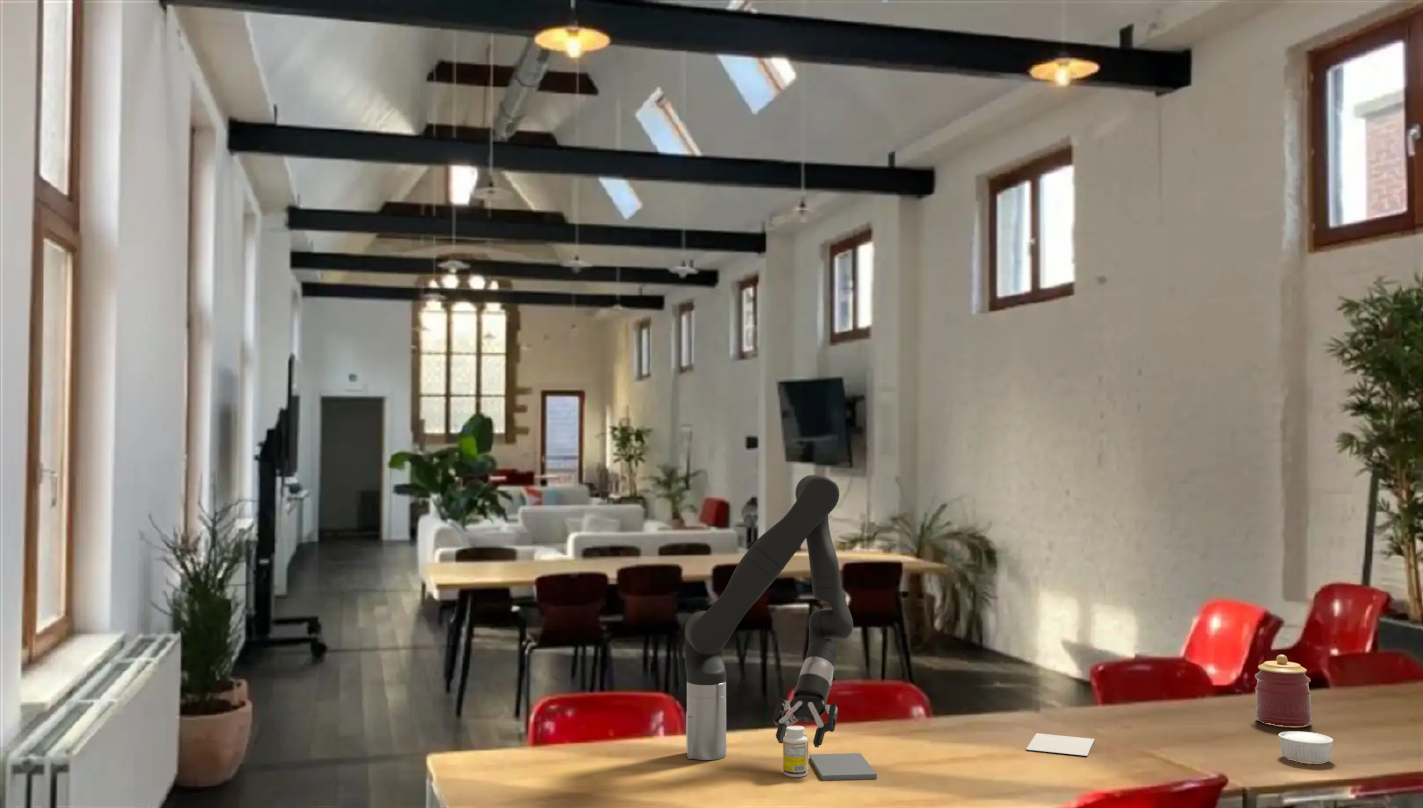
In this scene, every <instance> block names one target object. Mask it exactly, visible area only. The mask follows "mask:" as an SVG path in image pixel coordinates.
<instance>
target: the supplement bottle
mask: <svg viewBox="0 0 1423 808" xmlns="http://www.w3.org/2000/svg"><path fill="white" fill-rule="evenodd" d="M805 733H806V732H805V727H804V726H802V725H794V724H793V725H790V726H788V727H787V728H786V734H785V736H784V737H783V743H782V747H783V748H782V752H783V753H782V755H783V757H782V759H783V760H782V761H783V763H782V764H783V767H782V768H783V774H784V775H786V776H788V777H789V778H790V777H791V778H802V777H806V776H807V775H808V774H809V738H808V736H807V735H805Z"/></svg>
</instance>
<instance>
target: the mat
mask: <svg viewBox="0 0 1423 808" xmlns="http://www.w3.org/2000/svg"><path fill="white" fill-rule="evenodd" d="M810 759H811V761H812V762H811V761H810V762H811V764H812V763H813V764H812V765H814V766H815V767H814V766H813V767H814V769H815V770H817V771H816V772H817V774H818V776H819V777H820V779H821V780H822V781H839V780H840V781H843V780H846V781H847V780H872V779H873V780H875V779H878V773H877V772H876V771H875V770H874V769H873V767H872V766H871V765H870V764H869V762H868V761H867V760H866V758H865V757H864V756H863V754H862V753H860V752H857V753H856V752H852V753H851V752H849V753H843V752H842V753H811V754H809V753H808V760H810Z"/></svg>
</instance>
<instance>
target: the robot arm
mask: <svg viewBox="0 0 1423 808" xmlns="http://www.w3.org/2000/svg"><path fill="white" fill-rule="evenodd" d="M794 494H795V502H794V503H793V505H792V506H791V507H790V509H789V510H788V512H787V513H786V514H785V515H784V516H783V517H782V518H781V519H780V520H779V521H778V522H777V523H776V524H774V525H773V526H772V527H770V528H769V529H768V530H767V531H765V532H764V533H763V534H762V535H761V536H759V538H757V539H756V541H755V542H754V543H753V544H752V546H750V548H749V549H748V550H747V551H746V553H745V554H744V555H743V556H742V557H741V559H740V560H739V562H738V564H737V565H736V567H735V569H734V571H733V573H732V575H731V577H730V578H729V581H728V583H727V585H726V587H725V588H724V590H723V592H722V593H721V595H720V596H719V597H718V599H716V601H715V602H714V603H713V604H712V605H711V606H710V607H709V608H708V609H707V610H700V611H697V612H694V614H692V615H691V616H690V617H689V618H688V620H687V621H686V624H685V628H684V660H685V661H684V662H685V671H686V713H685V714H686V715H685V719H686V720H685V723H686V724H685V728H686V731H685V732H686V735H685V736H686V737H685V738H686V740H685V741H686V742H685V743H686V745H685V747H686V750H685V751H686V758H687V759H688V760H689V759H692V760H693V759H694V760H700V761H711V760H712V761H713V760H719V759H723V758H725V757H726V756H727V669H726V666H725V660H724V659H725V658H724V647H725V646H726V644H727V642H728V641H729V640H730V638H731V637H732V635H733V634H734V632H735V630H736V629H737V627H738V625H739V624H740V623H741V621H742V619H743V618H744V617H745V615H746V614H747V612H748V611H750V609H751V608H752V607H753V605H754V604H755V603H756V602H757V601H759V599H760V598H761V597H762V595H763V594H764V593H765V592H766V591H767V589H768V588H769V587H770V586H771V585H772V584H773V582H775V580H776V579H777V578H778V576H779V575H780V573H782V571H783V570H784V569H785V568H786V566H787V565H788V563H789V562H790V560H792V558H793V557H794V555H795V554H796V553H797V552H798V550H799V548H801V546H802V544H803V543H804V542H805V541H806V544H807V545H806V546H807V553H808V554H807V555H808V561H809V567H810V568H809V571H810V580H811V587H812V595H813V598H815V599H816V600H818V601H821V602H826V603H827V604H829V606H830V608H819V609H815V610H814V611H813V612H812V613H811V614H810V616H809V619H808V631H809V633H808V636H809V637H808V638H809V639H808V648H807V649H808V650H807V652H806V655H805V659H804V662H803V664H802V665H801V666H802V667H801V668H800V672H799V676H798V679H797V683H796V686H795V691H794V693H793V698H792V699H791V700H785V698H783V697H780V698H779V699H778V701H777V704H776V707H775V709H774V712H773V714H772V717H771V719H772V721H773V723H774V725H775V726H776V727H777V729H776V730H777V731H776V733H775V738H776V739H777V742H778V744H783V737H784V736H785V735H787V733H786V730H787V727H788V726H792V725H794V724H796V723H797V722H801V723H802V722H807V723H811V724H812V723H813V722H815V723H816V725H817V726H818V727H817V728H816V730H815V734H814V738H813V741H812V744H813V746H814V748H819V747H820V746H822V745H823V741H824V738H825V734H826V733H827V732H830V733H833V732H834V731H835V729H836V725H837V724H836V723H837V720H838V719H837V718H838V713H839V709H838V707H837V705H836V703H835V702H831V703H830V704H827V702H828V698H829V694H830V690H831V687H832V684H833V677H834V671H835V666H836V662H837V658H838V656H839V649H838V646H837V645H836V644H835V642H834V641H831V640H830V639H833V640H836V639H837V640H838V639H839V640H842V639H848V638H849V637H850V635H851V634H852V632H853V630H854V622H853V621H854V619H853V617H852V614H851V611H850V608H849V606H848V603H847V601H846V598H845V595H844V592H843V590H842V580H841V573H840V566H839V561H838V557H837V552H836V550H835V546H834V543H833V540H832V536H831V529H830V525H829V524H830V523H829V514H831V512H832V511H833V510H834V509H835V508H836V506H837V505H838V502H839V500H840V489H839V485H838V484H837V482H836V481H835V480H834V479H832V478H830V477H829V476H825V475H820V474H819V475H818V474H817V475H816V474H809V475H806V476H804V477H802V478H801V479H800V480H799V481H798V483H797V485H796V487H795V491H794ZM788 708H790V709H789V710H788ZM825 713H827V721H826V723H824V722H823V719H822V718H821V716H822V715H823V714H825ZM784 714H785V715H784Z"/></svg>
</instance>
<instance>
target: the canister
mask: <svg viewBox="0 0 1423 808" xmlns="http://www.w3.org/2000/svg"><path fill="white" fill-rule="evenodd" d="M1257 668H1258V669H1259V672H1257V673H1255V674H1254V677H1255V679H1256V680H1257V681H1256V683H1257V684H1256V686H1255V687H1254V688H1255V689H1254V690H1255V698H1256V699H1255V706H1256V707H1255V708H1256V710H1255V717H1256V720H1257V719H1258V720H1259V721H1261V722H1264V723H1271V724H1275V725H1283V726H1304V725H1308V724H1310V723H1312V721H1313V720H1312V713H1311V711H1312V710H1311V709H1312V708H1311V707H1312V706H1311V694H1312V692H1311V691H1310V687H1309V683H1310V682H1311V678H1310V677H1308V676H1307V675H1306V673H1307V671H1308V670H1307V668H1305V667H1303V666H1301V664H1300V663H1297V662H1292V661H1288V658H1287V656H1286V655H1285V654H1278V655H1277V656H1276V659H1275V660H1267V661H1264V662H1263V663H1262V664H1258V666H1257Z"/></svg>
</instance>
